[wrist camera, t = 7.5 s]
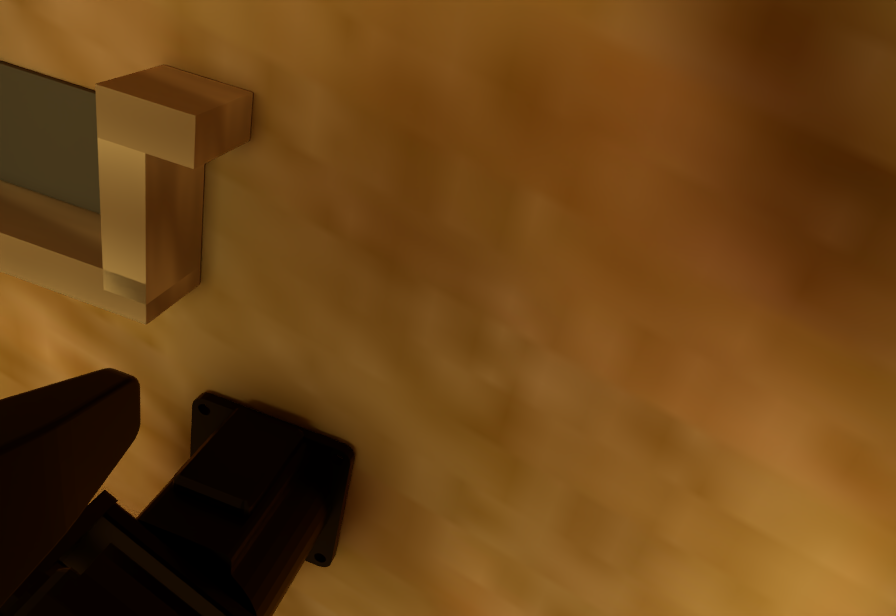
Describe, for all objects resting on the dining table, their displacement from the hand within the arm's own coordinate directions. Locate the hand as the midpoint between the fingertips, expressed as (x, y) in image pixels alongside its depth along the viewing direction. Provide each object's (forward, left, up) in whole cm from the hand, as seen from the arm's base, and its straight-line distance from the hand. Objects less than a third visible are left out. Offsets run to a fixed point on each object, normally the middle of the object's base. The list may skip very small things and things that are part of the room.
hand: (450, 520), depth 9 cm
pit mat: (-4, +17, -13) cm, 21 cm away
